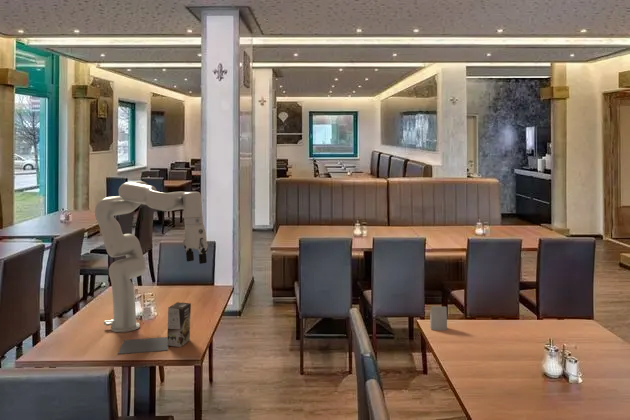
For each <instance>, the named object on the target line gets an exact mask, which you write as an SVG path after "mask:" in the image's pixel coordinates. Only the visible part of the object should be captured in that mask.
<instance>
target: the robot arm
mask: <svg viewBox="0 0 630 420" xmlns="http://www.w3.org/2000/svg"><path fill="white" fill-rule="evenodd" d="M202 204H203V203H202V194H201V192H199V191H181V190H180V191H172V192H160V191H158V190H157V188H156V187H155V186H154V185H149V184H148V183H147V182H145V181H142V180H137V181H136V180H135V181H125V182H123V183H122V184H121V185H120V186H119V188H118V195H116V196H114V195H113V196H107V197H104V198H102V199H100V200H99V201H98V202H96V205H95V208H94V216H95V219H96V222H97V224H98V226H99V228H100V232H101V236H102V240H103V243H104V246H105V250H106V253H107V255H108V256H109V257H111V258H120V257H124V256H125V258H122V259H117V260H115V261H113V262H112V263H111V264H110V265H109V268H108V276H109V278H110V283H111V291H112V293H111V295H112V309H113V319H110V320H108V319H107V320H103V324H104V326H105V327H107V326H110V330H111V332H115V333H128V332H132V331H133V332H134V331H135V330H138V329H139V328H140V326H141V324H140V323H139V322H137V313H136V312H137V311H136V296H135V295H136V293H135V286H134V284H133V283H132V281H131V280H132V279H133V278H138V277H140V276H142V275H144V273H145V271H146V267H147V266H146V265H147V264H146V261H145V260H146V259H145V257H144V253H143V249H142V247H141V243H140V240H139V238H138V237H137V236H136V235H134V234H132V233H124V234H123V231H122V227H121V225H120V223H119V221H118V220H117V219H116V218H115V217H116V216H120V215H127V214H128V215H129V214H130V213H133V212H134V211H135V210H136V209H138V208H139V207H140V206H141V205H144V206H145V205H146V206H147V207H148V208H150V209H153V210H158V211H163V212H172V211H179V210H183V221H184V240H183V241H182V244H183V246H184V249H185V250H184V251H185V255H186V256H185V259H186V262H193V261H194V259H195V256H194V251H193V250H197V251H198V252H199V254H198V261H199V263H198V264H199V265H201V264H207V254H208V252H207V251H208V247H209V243H208V241H207V240H208V239H207V235H206V229H205V226H204V218H203V205H202Z"/></svg>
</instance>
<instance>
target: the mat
mask: <svg viewBox="0 0 630 420" xmlns="http://www.w3.org/2000/svg"><path fill="white" fill-rule="evenodd" d="M169 346H170V345H167V336H165V337H164V336H163V337H151V338H150V337H149V338H137V339H123V342H122V343H121V346H120V348H119V350H118V352H117V355H126V354H138V353H139V354H140V353H141V354H142V353H154V352H155V353H157V352H166V351H167V352H168V349H169Z"/></svg>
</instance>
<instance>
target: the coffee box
mask: <svg viewBox="0 0 630 420" xmlns="http://www.w3.org/2000/svg"><path fill="white" fill-rule="evenodd" d="M191 304H192V303H191V302H179V301H178V302H175V303H174V304H172V305H171V306H169V307H168V309H167V310H168V312H167V336H166V337H167V345H169V346H171V347H178V348H182V347H183V346H184V345H186V344H187V343H188V342H189V341H191V310H192V309H191V307H192V305H191Z"/></svg>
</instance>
